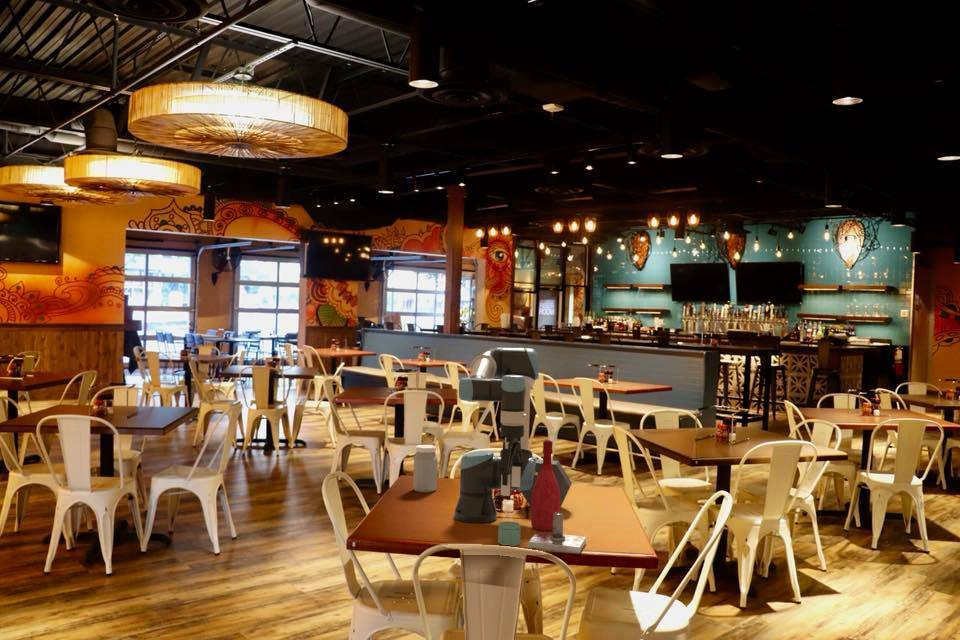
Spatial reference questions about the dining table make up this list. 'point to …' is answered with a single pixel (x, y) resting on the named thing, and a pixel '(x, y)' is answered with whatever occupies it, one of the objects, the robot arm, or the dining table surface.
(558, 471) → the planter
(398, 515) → the dining table surface
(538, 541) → the stud base
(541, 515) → the wine bottle
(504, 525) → the cap
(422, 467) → the jar
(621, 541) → the dining table surface
